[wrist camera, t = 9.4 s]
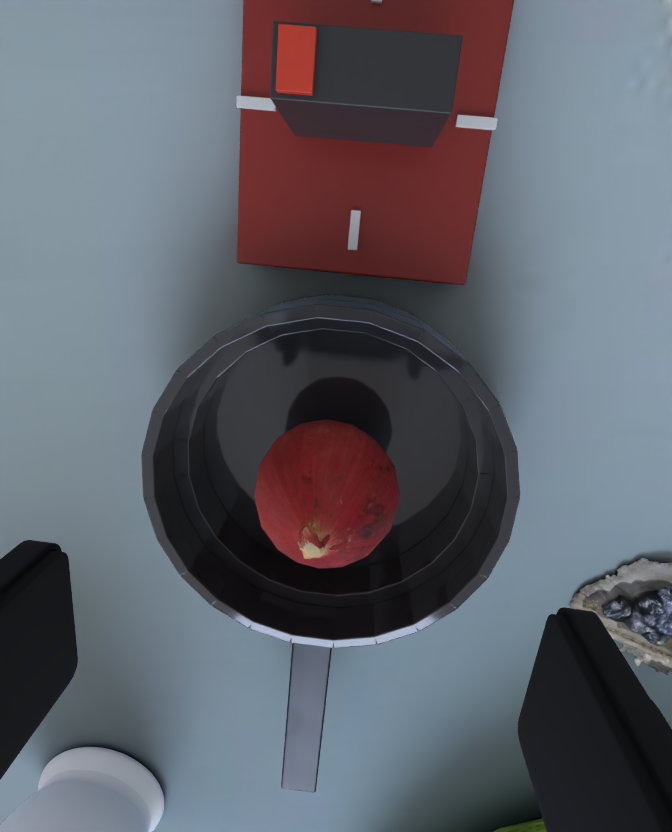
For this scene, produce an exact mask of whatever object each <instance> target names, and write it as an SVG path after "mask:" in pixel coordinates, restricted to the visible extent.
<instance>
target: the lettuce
mask: <svg viewBox="0 0 672 832" xmlns="http://www.w3.org/2000/svg"><path fill="white" fill-rule="evenodd" d="M493 832H547V831H546V828H545V824H544V821H543V818H542V819H538V820H533V821H528V822H524V823H520V824H515V825H511V826H507V827H502V828H499V829H497V830H495V831H493Z"/></svg>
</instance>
